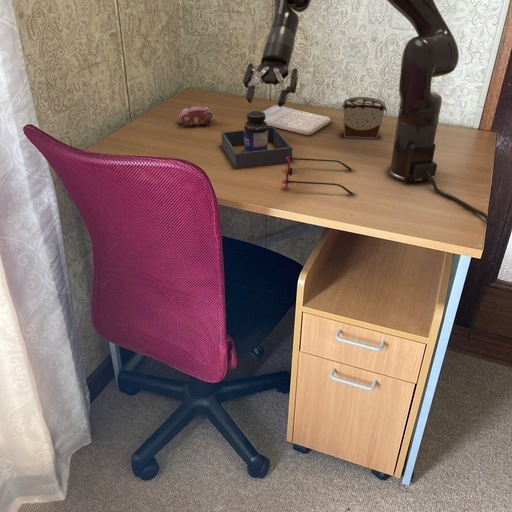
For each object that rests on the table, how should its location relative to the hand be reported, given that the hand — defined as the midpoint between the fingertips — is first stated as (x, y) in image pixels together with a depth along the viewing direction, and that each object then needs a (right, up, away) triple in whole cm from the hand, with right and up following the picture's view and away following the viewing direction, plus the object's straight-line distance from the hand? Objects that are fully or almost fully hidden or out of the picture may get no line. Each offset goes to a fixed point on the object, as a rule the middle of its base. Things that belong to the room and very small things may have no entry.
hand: (264, 103), depth 151 cm
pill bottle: (-2, -13, +1) cm, 13 cm away
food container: (+28, -5, +14) cm, 31 cm away
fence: (-2, -13, +1) cm, 13 cm away
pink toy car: (-20, -1, +19) cm, 28 cm away
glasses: (+13, -22, -12) cm, 28 cm away
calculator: (+8, 0, +21) cm, 23 cm away
